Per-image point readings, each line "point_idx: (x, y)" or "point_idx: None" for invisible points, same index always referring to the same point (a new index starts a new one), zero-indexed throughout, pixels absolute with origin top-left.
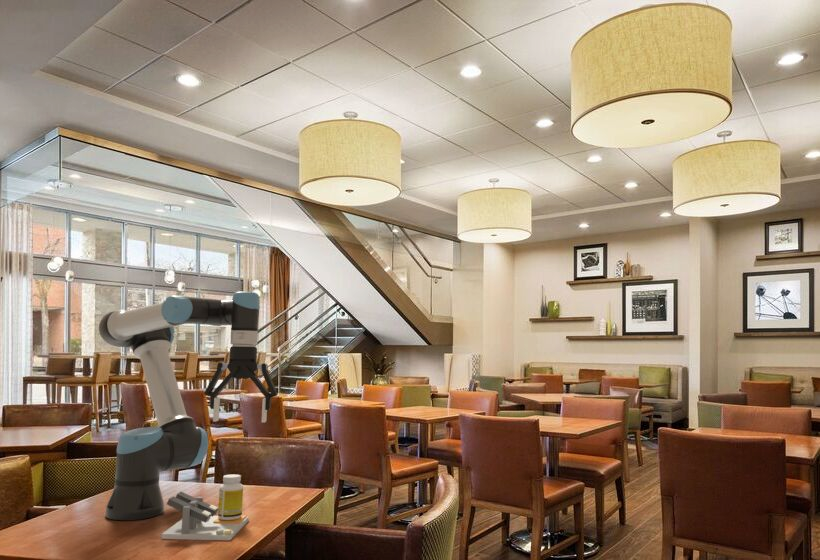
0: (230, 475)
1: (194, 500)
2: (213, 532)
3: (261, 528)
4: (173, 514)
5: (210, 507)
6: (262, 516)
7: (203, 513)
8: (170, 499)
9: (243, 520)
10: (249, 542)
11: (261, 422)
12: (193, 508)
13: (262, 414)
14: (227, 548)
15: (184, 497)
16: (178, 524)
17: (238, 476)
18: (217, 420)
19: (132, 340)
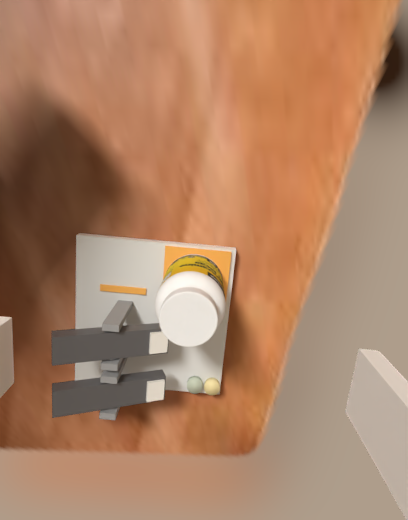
0: (180, 310)
1: (104, 351)
2: (179, 375)
3: (274, 309)
4: (27, 182)
5: (153, 353)
6: (266, 205)
7: (150, 401)
8: (57, 416)
9: (229, 286)
10: (260, 400)
11: (345, 410)
12: (121, 396)
13: (375, 455)
14: (223, 431)
15: (76, 362)
16: (84, 316)
17: (212, 330)
18: (11, 345)
19: None
